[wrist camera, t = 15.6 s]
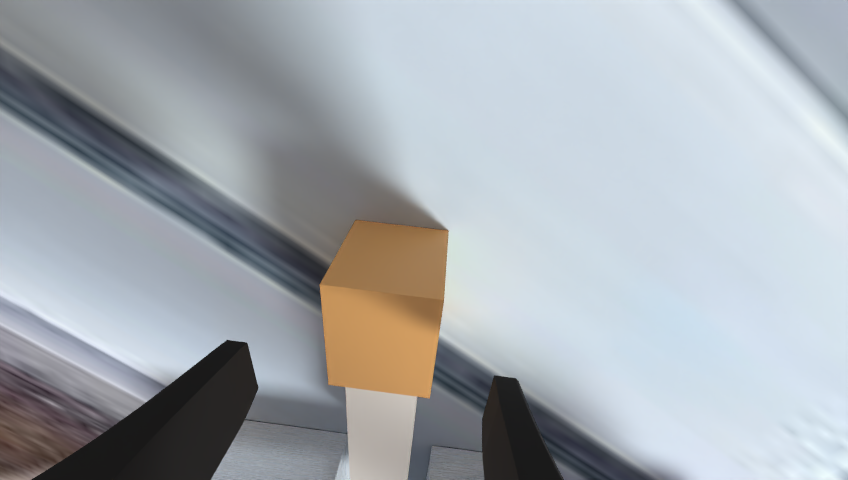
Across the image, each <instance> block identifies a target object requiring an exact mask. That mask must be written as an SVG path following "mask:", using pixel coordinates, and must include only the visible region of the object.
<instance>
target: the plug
mask: <svg viewBox="0 0 848 480" xmlns="http://www.w3.org/2000/svg"><path fill="white" fill-rule="evenodd" d="M447 246H448V230H439V229H430V228H422V227H413V226H404V225H396V224H387V223H379V222H370V221H361V220H355V222H354V223H353V225H352V227H351V229H350V231H349V233H348V234H347V236H346V238H345V240H344V242H343V243H342V245H341V247H340V249H339V251H338V252H337V254H336V256H335V258H334V260H333V261H332V263H331V265H330V267H329V269H328V270H327V272H326V274H325V276H324V278H323V280H322V281H321V283H320V293H321V305H322V316H323V327H324V339H325V350H326V361H327V373H328V384H329V385H334V386H341V387H345V392H346V412H347V432H348V452H349V471H350V480H408V472H409V464H410V456H411V447H412V439H413V431H414V423H415V414H416V405H417V397H423V398H430V393H431V386H432V379H433V372H434V365H435V358H436V351H437V344H438V338H439V331H440V324H441V317H442V310H443V303H444V291H445V276H446V261H447Z"/></svg>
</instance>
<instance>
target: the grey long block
mask: <svg viewBox="0 0 848 480" xmlns="http://www.w3.org/2000/svg"><path fill="white" fill-rule="evenodd" d="M211 480H350V471H349V452H348V434H344V433H336V432H329V431H322V430H314V429H307V428H300V427H292V426H285V425H278V424H270V423H263V422H256V421H248V420H244V422H243V424H242V426H241V428H240V430H239V431H238V433H237V435H236V437H235V439H234V440H233V442H232V444H231V446H230V447H229V449H228V451H227V453H226V454H225V456H224V458H223V459H222V461H221V463H220V465H219V466H218V468H217V470H216V472H215V473H214V475H213V477H212V478H211ZM426 480H484V470H483V459H482V452H475V451H468V450H461V449H453V448H446V447H439V446H432V447H431V453H430V460H429V466H428V472H427V478H426Z"/></svg>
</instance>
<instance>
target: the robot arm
mask: <svg viewBox="0 0 848 480" xmlns="http://www.w3.org/2000/svg"><path fill="white" fill-rule="evenodd" d="M257 390H258V385H257V381H256V377H255V373H254V369H253V364H252V360H251V356H250V352H249V348H248V344H247V343H245V342H238V341H230V340H227V341H225V342H224V343H223V344H221V345H220V346H219V347H217V348H216V349H215V350H213V351H212V352H211V353H210V354H208V355H207V356H206V357H204V358H203V359H202V360H201V361H199V362H198V363H197V364H196V365H194V366H193V367H192V368H190V369H189V370H188V371H187V372H185V373H184V374H183V375H182V376H180V377H179V378H178V379H176V380H175V381H174V382H172V383H171V384H170V385H169V386H167V387H166V388H165V389H163V390H162V391H161V392H159V393H158V394H157V395H155V396H154V397H153V398H151V399H150V400H149V401H147V402H146V403H145V404H143V405H142V406H141V407H139V408H138V409H137V410H135V411H134V412H132V413H131V414H130V415H128V416H127V417H125V418H124V419H123V420H121V421H120V422H118V423H117V424H116V425H114V426H113V427H111V428H110V429H109V430H107V431H106V432H104V433H103V434H101V435H100V436H99V437H97V438H96V439H94V440H93V441H91V442H90V443H88V444H87V445H85V446H84V447H82V448H81V449H79V450H78V451H76V452H75V453H73V454H72V455H70V456H68V457H67V458H65V459H64V460H62V461H61V462H59V463H57V464H56V465H54V466H53V467H51V468H50V469H48V470H46V471H45V472H43V473H42V474H40V475H38V476H37V477H35V478H33V479H32V480H211V478H212V477H213V475H214V473H215V472H216V470H217V468H218V466H219V465H220V463H221V461H222V459H223V458H224V456H225V454H226V453H227V451H228V449H229V447H230V446H231V444H232V442H233V440H234V439H235V437H236V435H237V433H238V431H239V430H240V428H241V426H242V424H243V422H244V420H245V418H246V416H247V413H248V411H249V409H250V407H251V404H252V402H253V399H254V397H255V395H256V392H257ZM482 459H483V470H484V480H564V479H563V477H562V475H561V473H560V472H559V470H558V468H557V466H556V464H555V462H554V460H553V458H552V456H551V454H550V452H549V450H548V448H547V446H546V444H545V442H544V440H543V437H542V435H541V433H540V431H539V429H538V427H537V424H536V422H535V420H534V418H533V416H532V413H531V411H530V409H529V406H528V404H527V402H526V399H525V397H524V394H523V392H522V389H521V386H520V384H519V381H518V380H517V379H516V378H509V377H501V376H494V378H493V382H492V386H491V389H490V393H489V396H488V400H487V404H486V407H485V411H484V415H483V418H482Z"/></svg>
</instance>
